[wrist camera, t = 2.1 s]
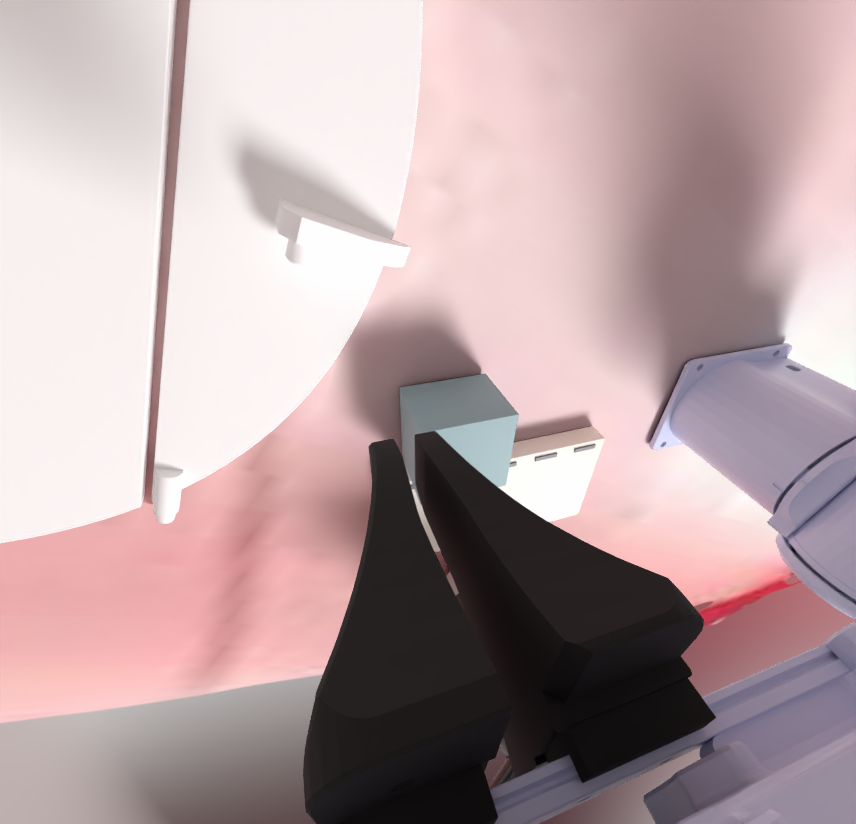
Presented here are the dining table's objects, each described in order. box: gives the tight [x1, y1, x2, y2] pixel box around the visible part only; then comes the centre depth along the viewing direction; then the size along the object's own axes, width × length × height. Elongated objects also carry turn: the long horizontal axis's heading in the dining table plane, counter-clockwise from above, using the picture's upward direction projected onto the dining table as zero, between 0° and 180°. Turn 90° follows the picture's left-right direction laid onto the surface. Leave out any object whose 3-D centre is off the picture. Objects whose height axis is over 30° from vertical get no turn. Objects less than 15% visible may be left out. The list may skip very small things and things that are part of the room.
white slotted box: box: [405, 426, 605, 552], centre depth 29 cm, size 15×8×2 cm, turn 89°
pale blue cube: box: [399, 374, 519, 505], centre depth 22 cm, size 5×5×4 cm
